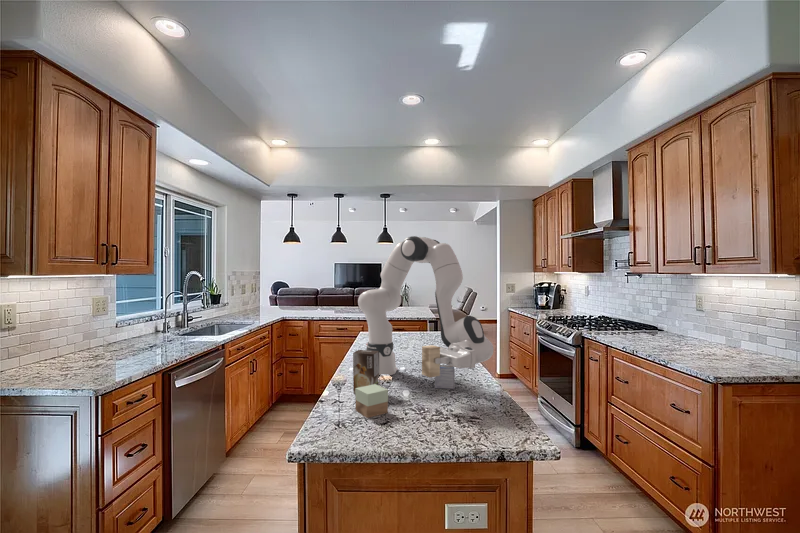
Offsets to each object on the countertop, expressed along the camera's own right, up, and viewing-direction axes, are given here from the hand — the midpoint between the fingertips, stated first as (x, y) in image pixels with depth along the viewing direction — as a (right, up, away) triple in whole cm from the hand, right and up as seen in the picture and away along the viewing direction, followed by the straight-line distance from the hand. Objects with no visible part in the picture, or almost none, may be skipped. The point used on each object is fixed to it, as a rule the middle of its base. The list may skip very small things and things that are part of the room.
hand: (429, 359), depth 141 cm
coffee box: (-23, -17, +16) cm, 33 cm away
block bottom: (-20, -17, -5) cm, 27 cm away
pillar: (0, -6, 0) cm, 6 cm away
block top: (-20, -13, -5) cm, 24 cm away
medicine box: (+8, -17, +23) cm, 29 cm away
